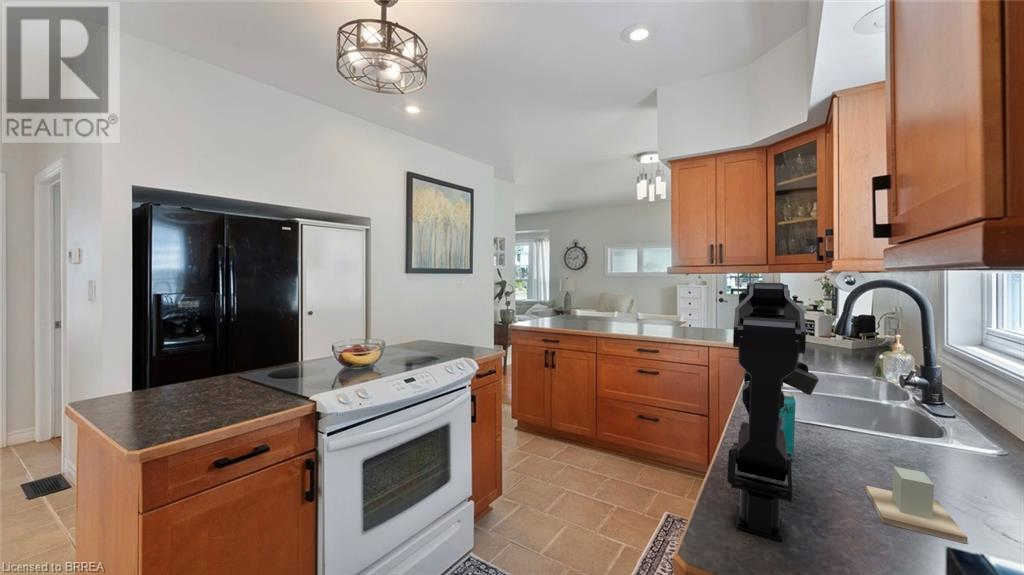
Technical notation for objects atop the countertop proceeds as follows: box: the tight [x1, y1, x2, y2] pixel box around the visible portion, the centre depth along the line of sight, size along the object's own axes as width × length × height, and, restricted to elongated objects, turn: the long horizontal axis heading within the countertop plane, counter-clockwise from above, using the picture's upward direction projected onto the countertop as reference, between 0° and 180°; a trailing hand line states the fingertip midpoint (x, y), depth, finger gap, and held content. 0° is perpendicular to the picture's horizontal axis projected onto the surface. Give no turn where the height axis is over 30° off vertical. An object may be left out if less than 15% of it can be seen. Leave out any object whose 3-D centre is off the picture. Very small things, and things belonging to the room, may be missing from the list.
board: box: [865, 485, 969, 544], centre depth 71 cm, size 12×10×1 cm
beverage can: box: [778, 389, 796, 459], centre depth 93 cm, size 6×6×15 cm
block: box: [891, 466, 935, 520], centre depth 71 cm, size 5×4×6 cm
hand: (760, 428), depth 78 cm, fingers open, 9 cm apart
